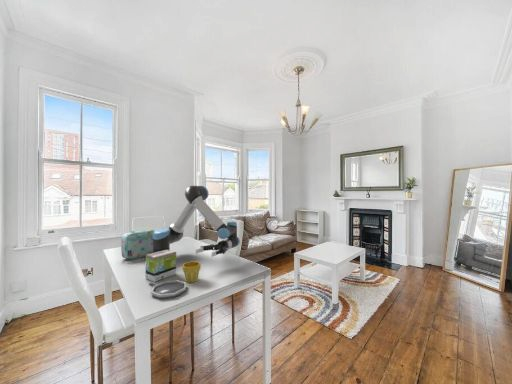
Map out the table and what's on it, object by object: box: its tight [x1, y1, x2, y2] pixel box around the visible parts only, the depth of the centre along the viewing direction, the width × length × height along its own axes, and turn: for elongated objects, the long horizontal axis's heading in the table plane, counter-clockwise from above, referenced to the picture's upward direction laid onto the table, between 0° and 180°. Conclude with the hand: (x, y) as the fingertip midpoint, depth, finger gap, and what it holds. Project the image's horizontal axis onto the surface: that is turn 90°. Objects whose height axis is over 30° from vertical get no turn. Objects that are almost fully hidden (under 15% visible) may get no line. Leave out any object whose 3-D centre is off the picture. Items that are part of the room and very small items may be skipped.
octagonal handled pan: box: [148, 279, 187, 300], centre depth 118 cm, size 25×17×2 cm
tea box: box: [144, 249, 177, 283], centre depth 136 cm, size 15×10×15 cm
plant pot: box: [182, 261, 201, 283], centre depth 130 cm, size 10×10×10 cm
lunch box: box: [120, 229, 155, 260], centre depth 176 cm, size 27×10×21 cm, turn 148°
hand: (203, 253), depth 139 cm, fingers open, 13 cm apart
